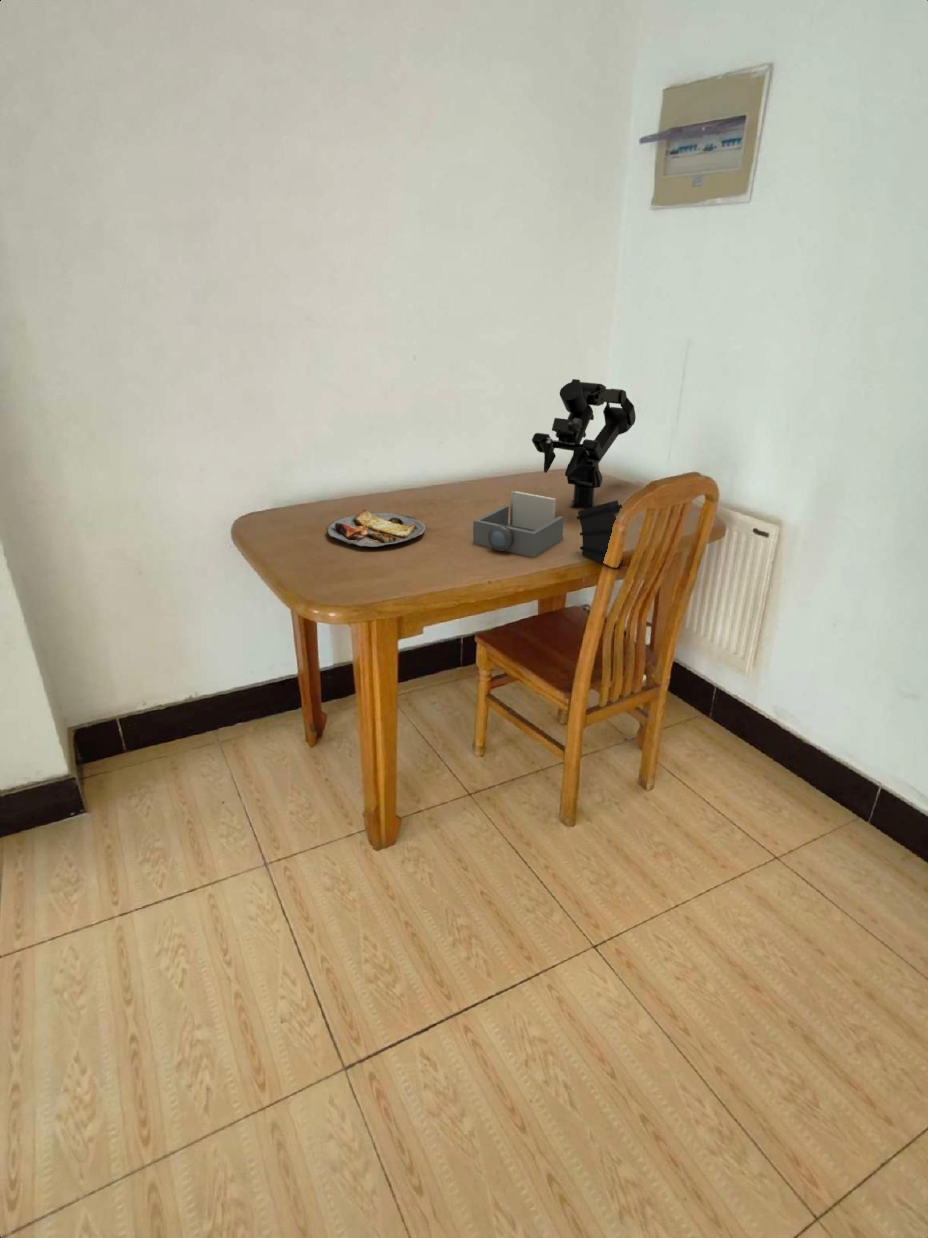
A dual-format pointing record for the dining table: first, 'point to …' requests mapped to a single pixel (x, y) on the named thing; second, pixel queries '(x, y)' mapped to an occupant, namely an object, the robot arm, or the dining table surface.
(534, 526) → the side door
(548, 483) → the dining table surface
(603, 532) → the black ribbed curved block
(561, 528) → the grey open box
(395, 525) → the food plate
